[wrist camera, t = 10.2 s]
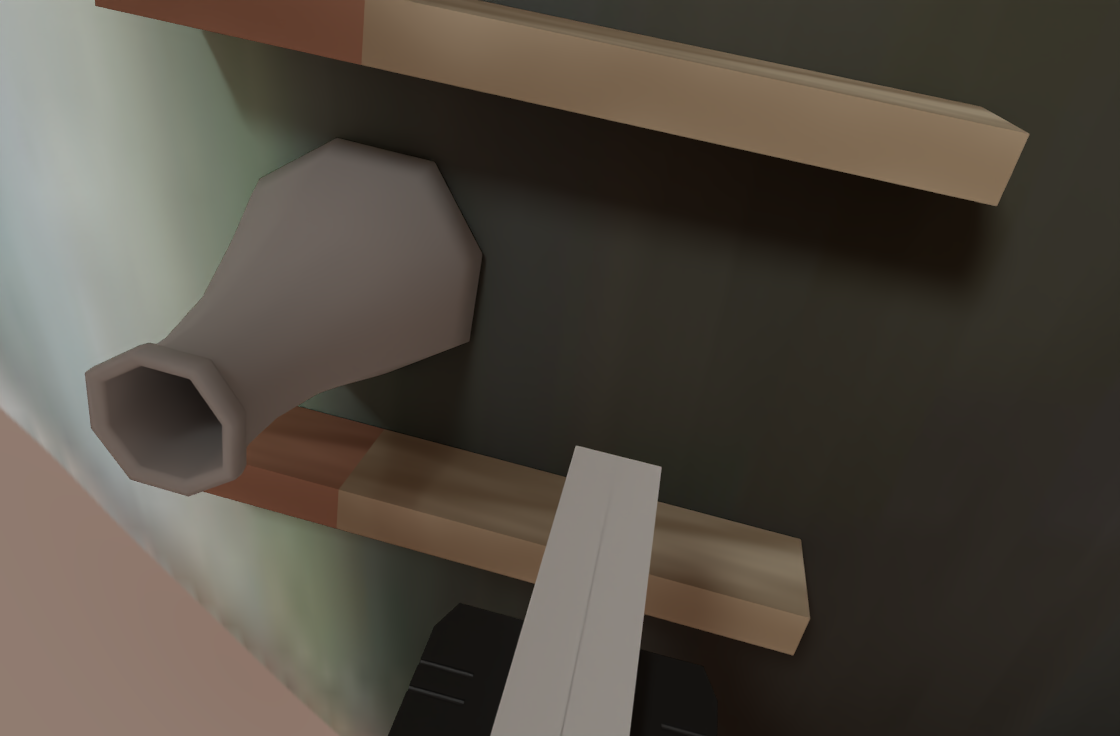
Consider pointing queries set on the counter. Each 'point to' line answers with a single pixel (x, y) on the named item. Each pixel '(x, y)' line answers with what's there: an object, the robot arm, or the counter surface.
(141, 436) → the flask
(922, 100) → the wooden sticks
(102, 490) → the counter surface
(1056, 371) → the counter surface
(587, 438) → the counter surface
